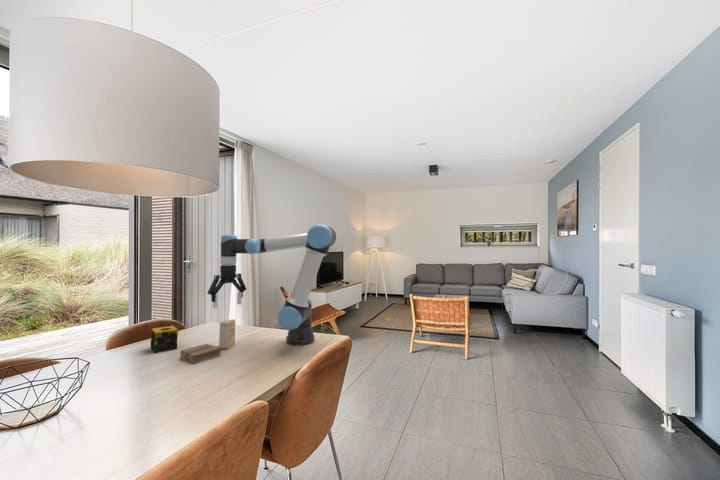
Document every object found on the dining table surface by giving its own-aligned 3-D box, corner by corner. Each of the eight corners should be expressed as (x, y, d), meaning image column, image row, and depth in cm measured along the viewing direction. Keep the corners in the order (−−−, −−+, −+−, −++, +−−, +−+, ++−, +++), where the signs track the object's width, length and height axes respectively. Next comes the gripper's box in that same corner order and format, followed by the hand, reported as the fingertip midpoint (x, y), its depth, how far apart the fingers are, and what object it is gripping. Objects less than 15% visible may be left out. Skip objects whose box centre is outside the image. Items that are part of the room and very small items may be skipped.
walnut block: (220, 357, 145) (220, 348, 145) (194, 364, 135) (194, 355, 135) (206, 352, 151) (206, 343, 152) (180, 359, 142) (180, 350, 142)
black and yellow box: (150, 348, 155) (150, 328, 156) (173, 344, 162) (173, 325, 162) (153, 353, 148) (154, 332, 148) (177, 349, 155) (178, 329, 155)
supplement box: (228, 349, 154) (228, 322, 155) (218, 349, 154) (219, 322, 155) (235, 344, 163) (235, 319, 163) (226, 344, 163) (226, 319, 163)
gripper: (244, 263, 172) (244, 302, 172) (200, 265, 151) (199, 309, 151) (253, 264, 168) (252, 303, 167) (209, 266, 147) (208, 311, 147)
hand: (227, 306), depth 159 cm, fingers open, 13 cm apart
